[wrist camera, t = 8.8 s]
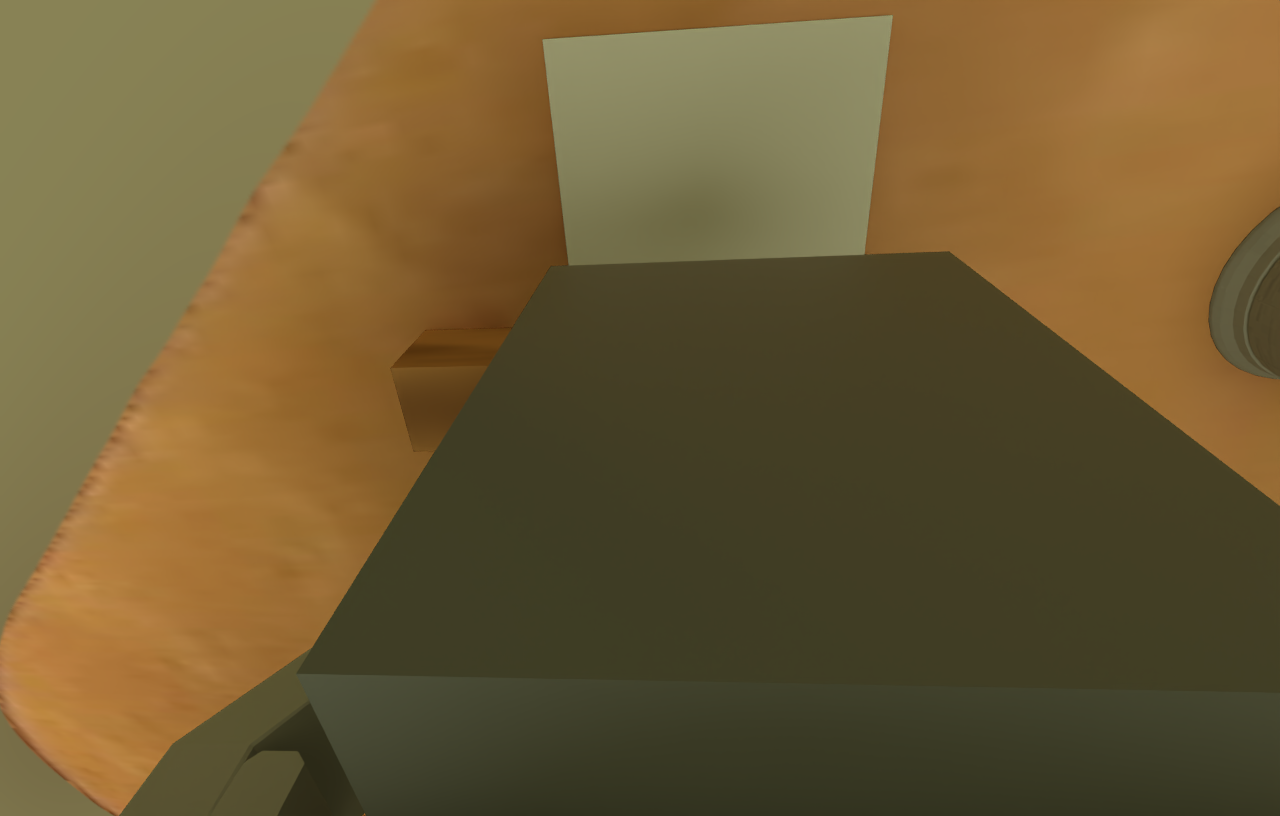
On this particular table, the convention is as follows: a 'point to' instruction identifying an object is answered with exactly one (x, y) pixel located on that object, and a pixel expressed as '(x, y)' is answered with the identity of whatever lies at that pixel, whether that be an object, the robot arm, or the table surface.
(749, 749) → the cover
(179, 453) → the table surface
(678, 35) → the mat
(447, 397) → the brown cube
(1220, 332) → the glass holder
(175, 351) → the table surface
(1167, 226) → the table surface
